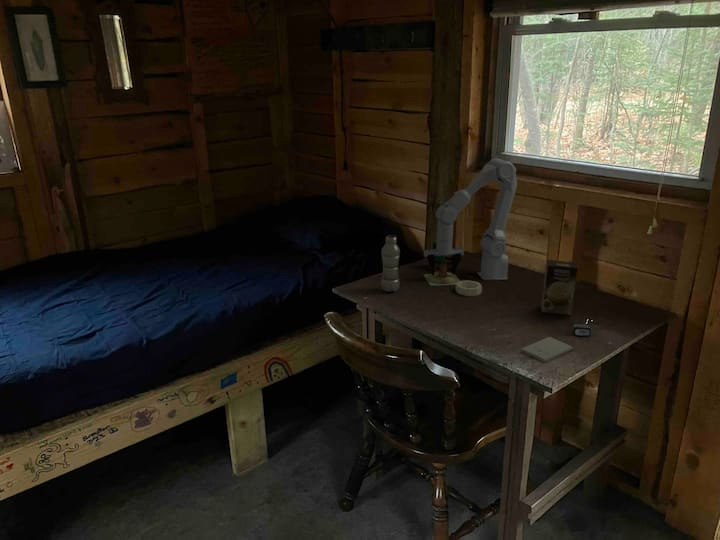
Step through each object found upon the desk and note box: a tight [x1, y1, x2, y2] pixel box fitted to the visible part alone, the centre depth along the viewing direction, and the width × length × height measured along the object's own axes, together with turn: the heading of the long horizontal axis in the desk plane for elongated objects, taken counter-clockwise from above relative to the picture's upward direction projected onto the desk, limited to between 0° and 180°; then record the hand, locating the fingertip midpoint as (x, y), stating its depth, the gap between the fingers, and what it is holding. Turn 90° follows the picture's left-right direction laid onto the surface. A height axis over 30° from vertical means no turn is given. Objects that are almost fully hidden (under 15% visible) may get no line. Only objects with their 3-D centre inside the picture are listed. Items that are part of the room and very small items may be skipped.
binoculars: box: [428, 241, 452, 272], centre depth 220 cm, size 9×11×10 cm
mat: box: [422, 273, 461, 287], centre depth 209 cm, size 12×12×1 cm
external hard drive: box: [520, 336, 574, 363], centre depth 156 cm, size 2×8×12 cm
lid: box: [428, 263, 458, 284], centre depth 208 cm, size 10×10×6 cm
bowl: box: [455, 280, 483, 297], centre depth 197 cm, size 8×8×3 cm
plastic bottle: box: [380, 234, 401, 293], centre depth 196 cm, size 6×7×20 cm
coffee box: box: [540, 259, 578, 316], centre depth 181 cm, size 9×6×16 cm
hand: (442, 274), depth 208 cm, fingers open, 7 cm apart
